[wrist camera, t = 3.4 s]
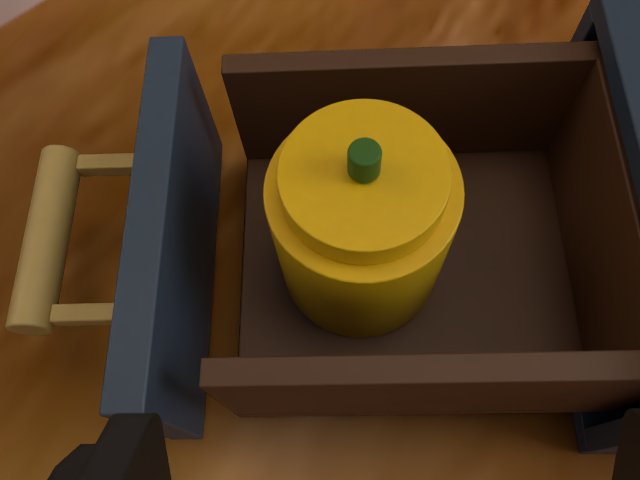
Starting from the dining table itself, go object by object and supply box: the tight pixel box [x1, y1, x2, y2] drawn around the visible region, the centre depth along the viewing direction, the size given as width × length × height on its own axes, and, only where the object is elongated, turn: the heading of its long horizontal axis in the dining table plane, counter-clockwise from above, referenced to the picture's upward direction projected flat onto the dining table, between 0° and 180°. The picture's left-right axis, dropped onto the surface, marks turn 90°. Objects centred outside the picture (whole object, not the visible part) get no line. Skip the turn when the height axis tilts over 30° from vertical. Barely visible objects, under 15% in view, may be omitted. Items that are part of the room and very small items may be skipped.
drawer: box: [5, 36, 640, 439], centre depth 21 cm, size 20×12×7 cm, turn 90°
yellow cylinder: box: [263, 99, 465, 337], centre depth 19 cm, size 6×6×8 cm
